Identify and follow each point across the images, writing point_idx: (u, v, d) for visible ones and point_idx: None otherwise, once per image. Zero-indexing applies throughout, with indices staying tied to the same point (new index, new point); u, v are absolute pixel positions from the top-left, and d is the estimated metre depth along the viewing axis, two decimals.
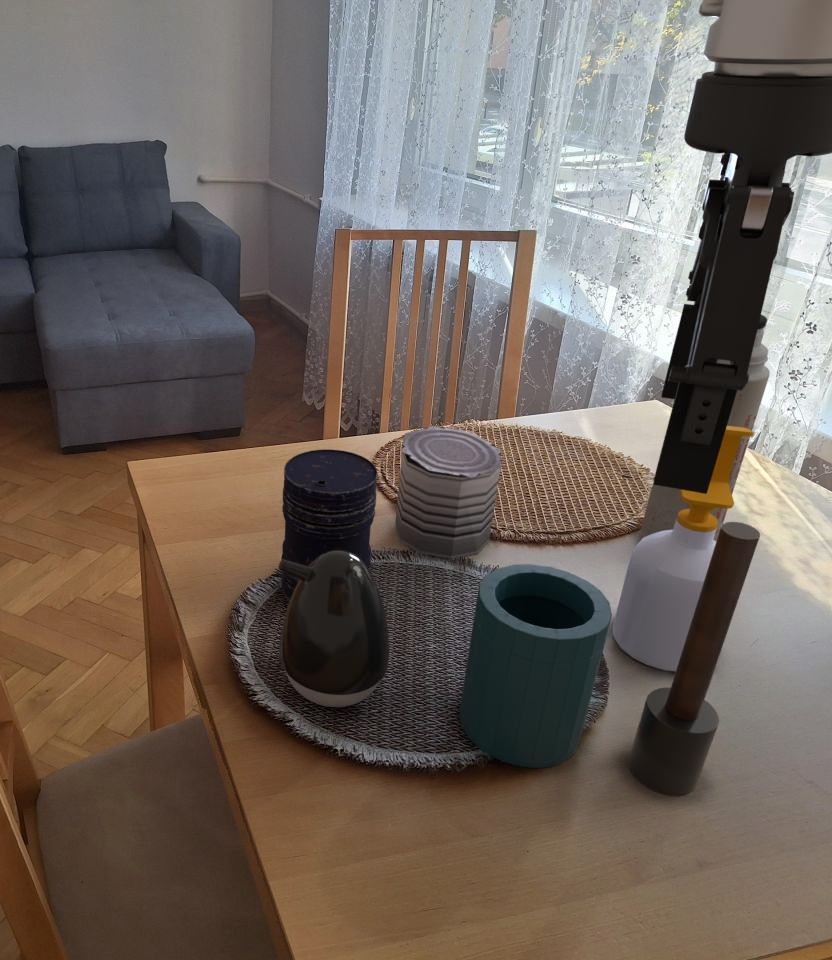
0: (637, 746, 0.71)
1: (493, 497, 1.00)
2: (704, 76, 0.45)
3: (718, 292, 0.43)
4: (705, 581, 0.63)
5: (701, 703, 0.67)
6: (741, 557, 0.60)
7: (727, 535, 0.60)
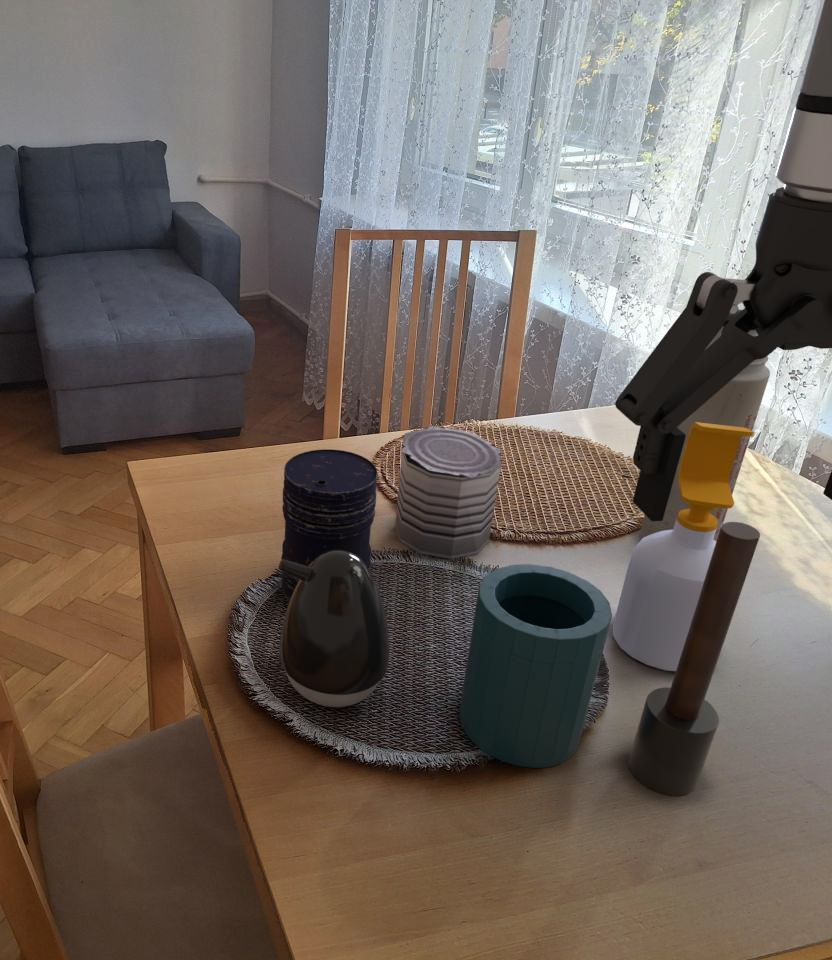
0: (637, 746, 0.71)
1: (493, 497, 1.00)
2: None
3: (659, 348, 0.55)
4: (705, 581, 0.63)
5: (701, 703, 0.67)
6: (741, 557, 0.60)
7: (727, 535, 0.60)
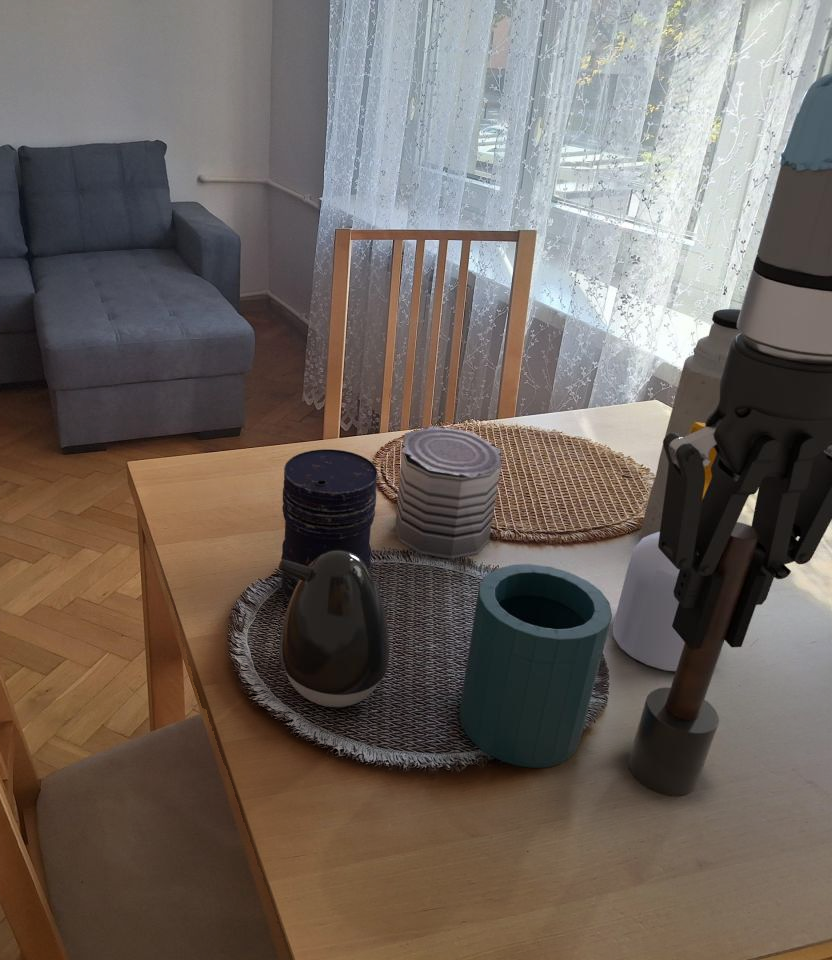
0: (637, 746, 0.71)
1: (493, 497, 1.00)
2: None
3: (667, 501, 0.60)
4: None
5: (701, 703, 0.67)
6: (741, 557, 0.60)
7: None
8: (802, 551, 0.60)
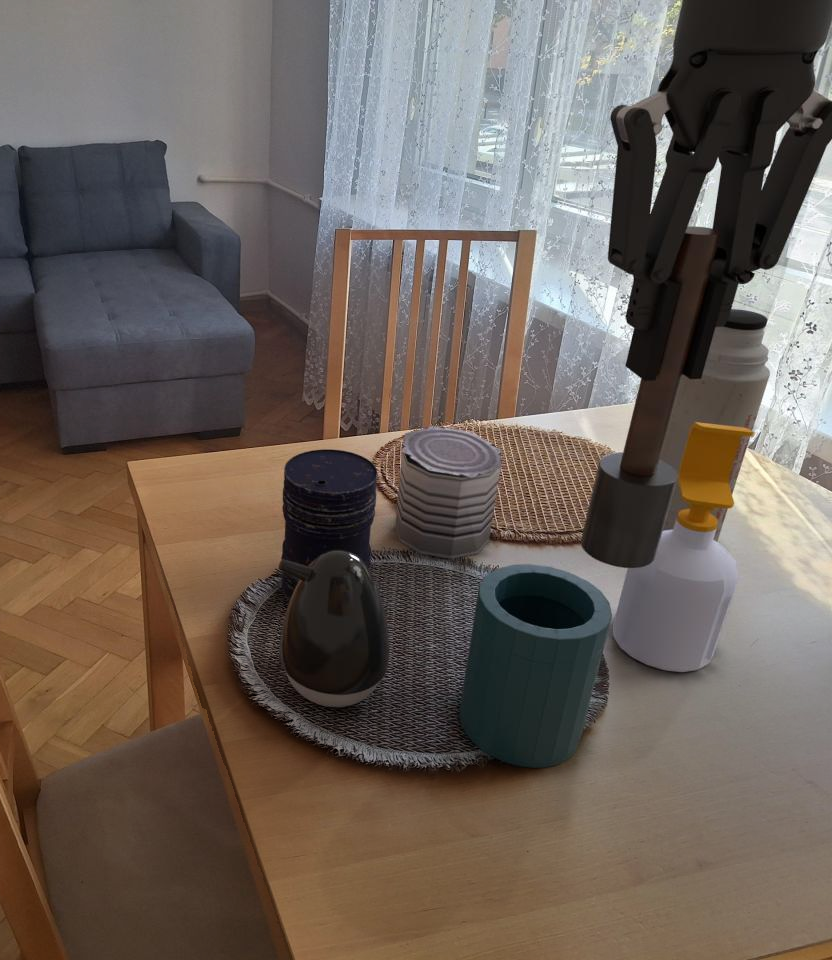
0: (590, 517, 0.64)
1: (493, 497, 1.00)
2: None
3: (616, 195, 0.54)
4: None
5: (658, 455, 0.61)
6: (700, 259, 0.54)
7: None
8: (767, 252, 0.54)
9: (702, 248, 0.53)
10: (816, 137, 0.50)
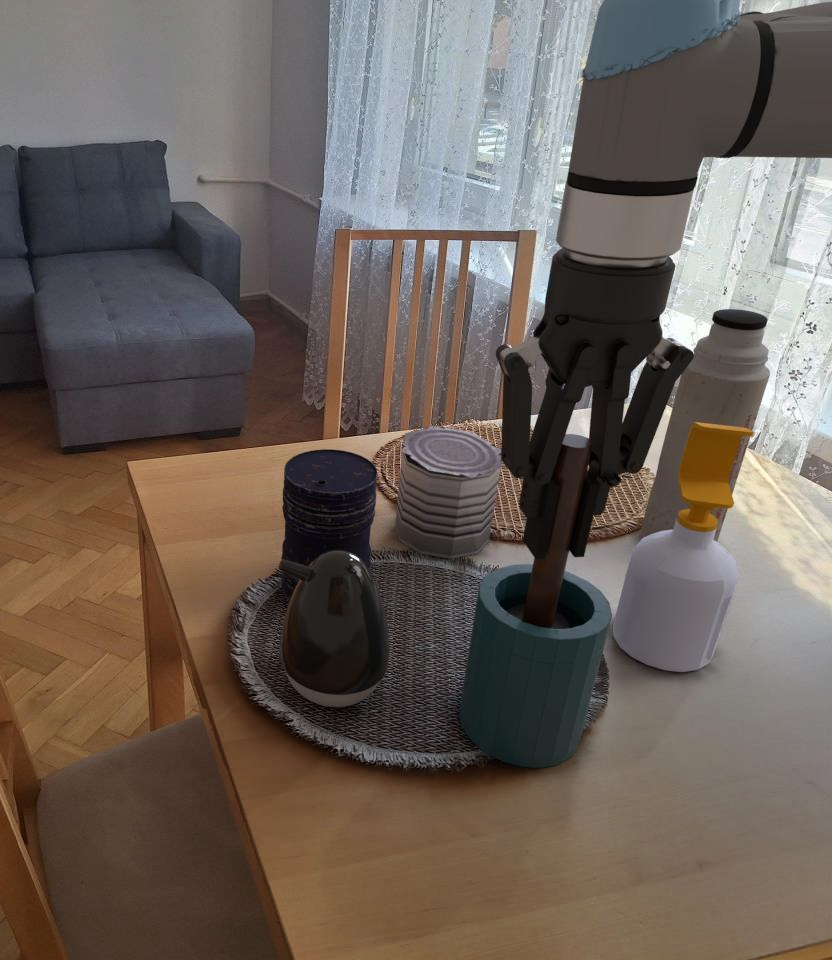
0: None
1: (493, 497, 1.00)
2: None
3: (504, 412, 0.63)
4: None
5: (552, 614, 0.70)
6: (575, 466, 0.63)
7: (562, 445, 0.63)
8: (632, 460, 0.63)
9: (576, 458, 0.63)
10: (665, 375, 0.60)
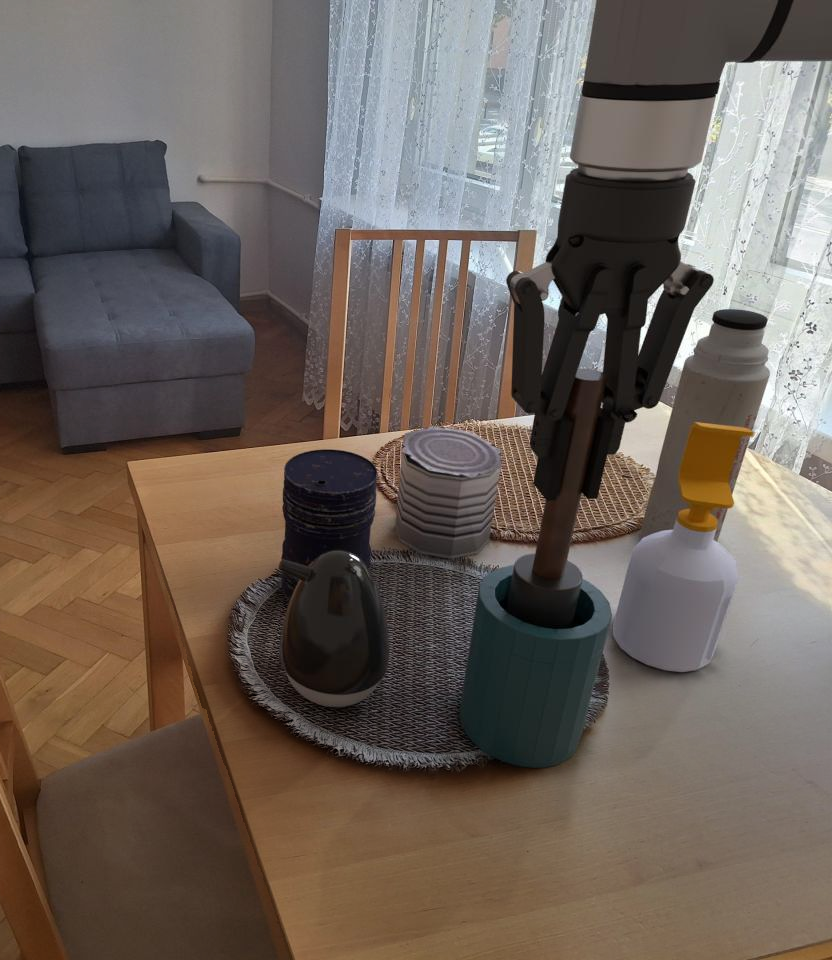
0: (507, 611, 0.71)
1: (493, 497, 1.00)
2: None
3: (515, 344, 0.61)
4: None
5: (564, 561, 0.68)
6: (589, 400, 0.61)
7: (575, 379, 0.61)
8: (649, 394, 0.61)
9: (590, 391, 0.60)
10: (684, 301, 0.57)
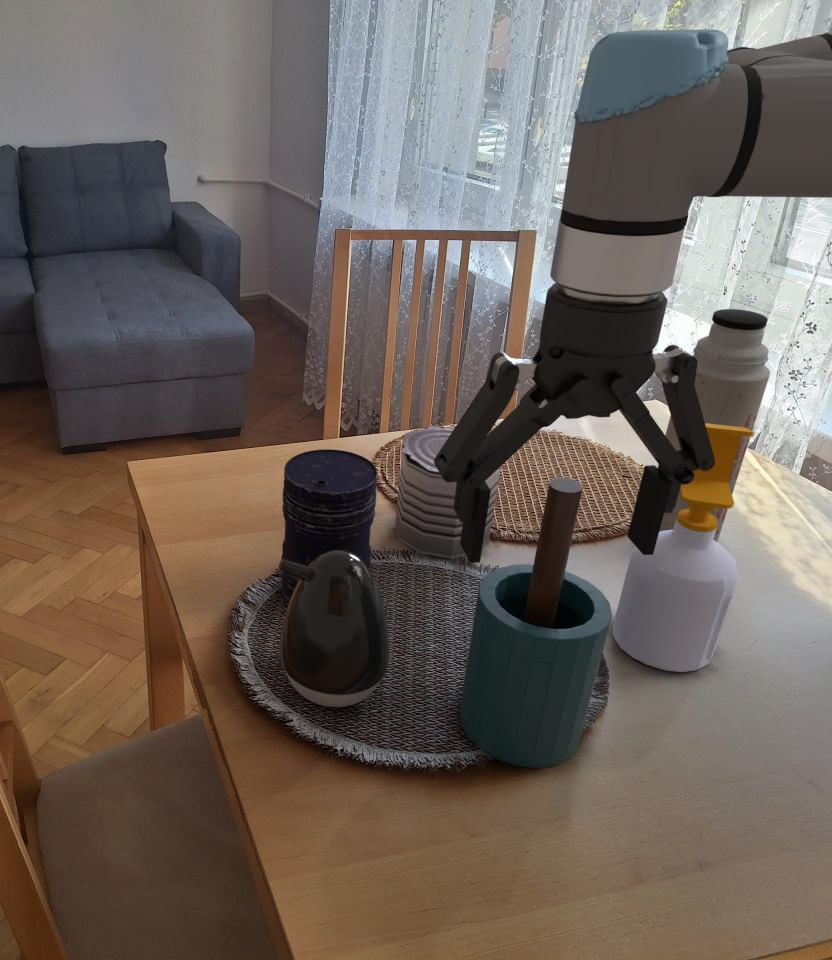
0: None
1: (493, 497, 1.00)
2: None
3: (465, 416, 0.63)
4: (539, 534, 0.68)
5: None
6: (566, 510, 0.65)
7: (553, 489, 0.65)
8: (701, 460, 0.63)
9: (567, 502, 0.65)
10: (680, 386, 0.60)
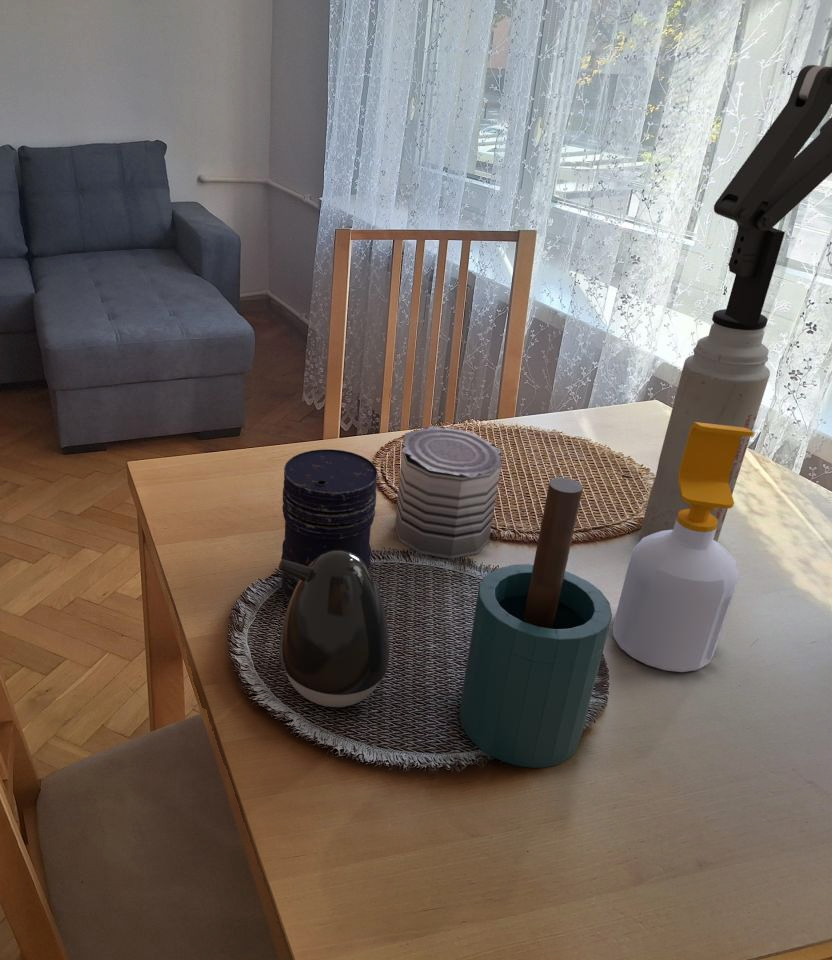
0: None
1: (493, 497, 1.00)
2: None
3: (760, 146, 0.57)
4: (539, 534, 0.68)
5: None
6: (566, 510, 0.65)
7: (553, 489, 0.65)
8: None
9: (567, 502, 0.65)
10: None
